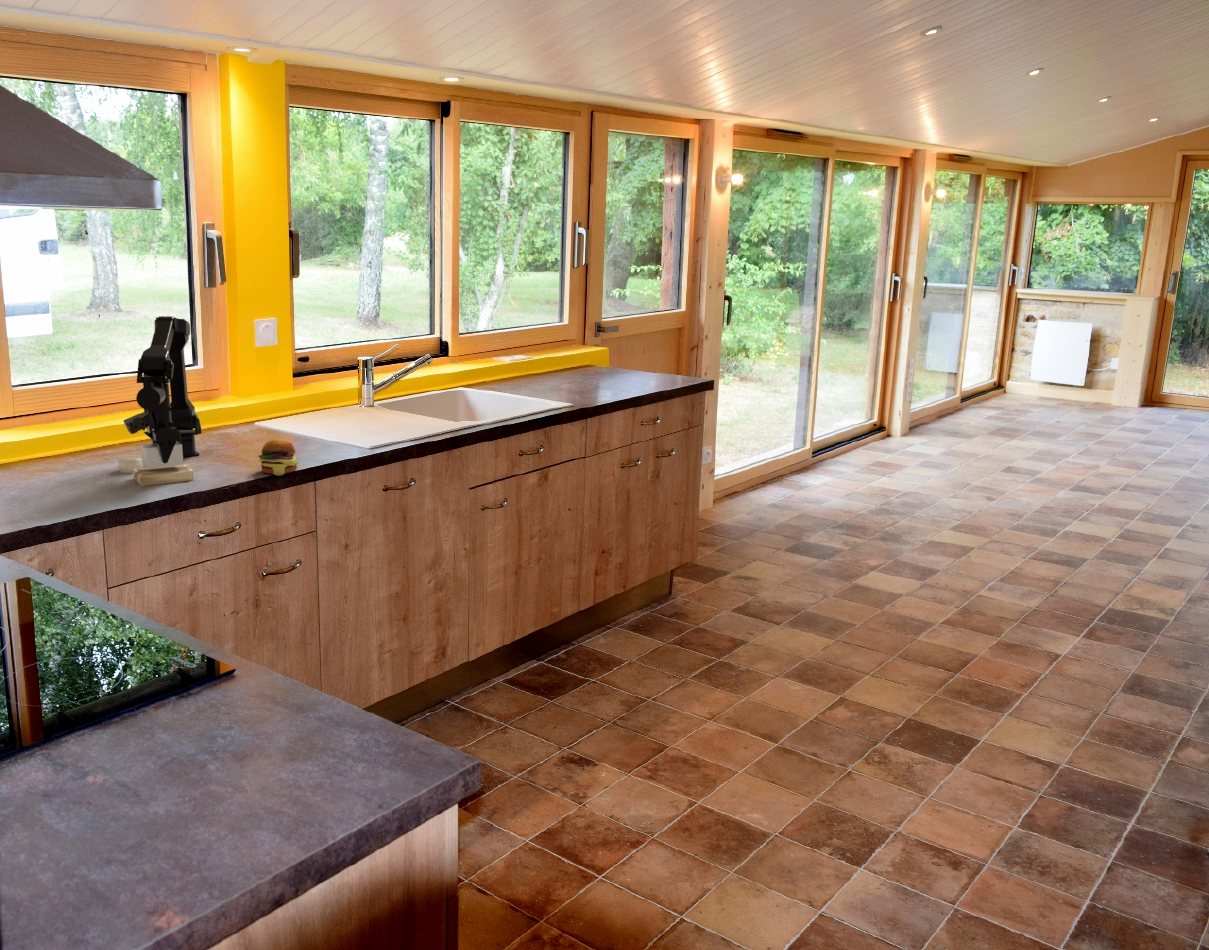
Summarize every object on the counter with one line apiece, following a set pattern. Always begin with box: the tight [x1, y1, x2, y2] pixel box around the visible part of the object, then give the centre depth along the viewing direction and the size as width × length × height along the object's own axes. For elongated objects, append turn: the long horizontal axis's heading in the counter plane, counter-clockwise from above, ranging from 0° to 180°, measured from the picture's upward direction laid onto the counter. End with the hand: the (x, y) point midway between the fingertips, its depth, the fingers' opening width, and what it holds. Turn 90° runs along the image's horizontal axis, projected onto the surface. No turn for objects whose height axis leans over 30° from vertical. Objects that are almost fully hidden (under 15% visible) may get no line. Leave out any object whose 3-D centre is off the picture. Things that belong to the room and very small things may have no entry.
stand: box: [132, 463, 195, 487], centre depth 283 cm, size 9×13×3 cm
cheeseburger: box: [258, 439, 298, 477], centre depth 295 cm, size 10×11×10 cm
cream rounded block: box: [117, 455, 146, 474], centre depth 291 cm, size 6×6×4 cm
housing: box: [140, 441, 185, 469], centre depth 282 cm, size 5×9×6 cm, turn 127°
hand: (162, 460), depth 282 cm, fingers open, 5 cm apart
